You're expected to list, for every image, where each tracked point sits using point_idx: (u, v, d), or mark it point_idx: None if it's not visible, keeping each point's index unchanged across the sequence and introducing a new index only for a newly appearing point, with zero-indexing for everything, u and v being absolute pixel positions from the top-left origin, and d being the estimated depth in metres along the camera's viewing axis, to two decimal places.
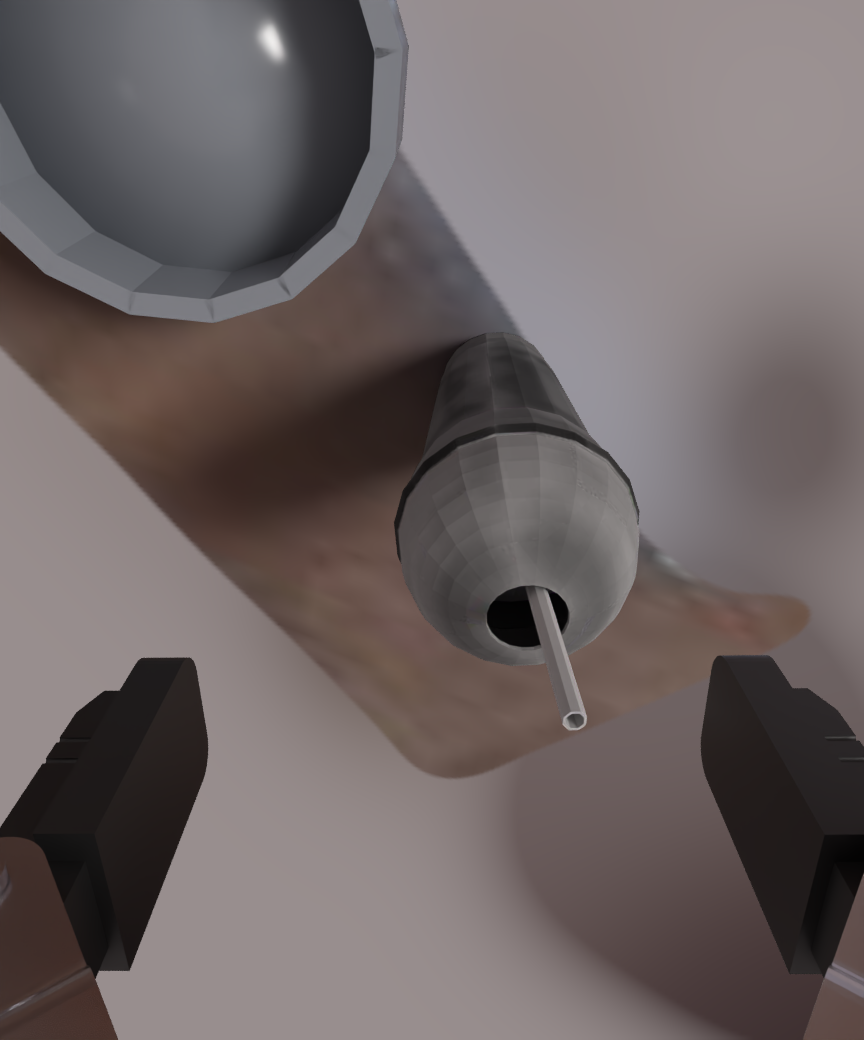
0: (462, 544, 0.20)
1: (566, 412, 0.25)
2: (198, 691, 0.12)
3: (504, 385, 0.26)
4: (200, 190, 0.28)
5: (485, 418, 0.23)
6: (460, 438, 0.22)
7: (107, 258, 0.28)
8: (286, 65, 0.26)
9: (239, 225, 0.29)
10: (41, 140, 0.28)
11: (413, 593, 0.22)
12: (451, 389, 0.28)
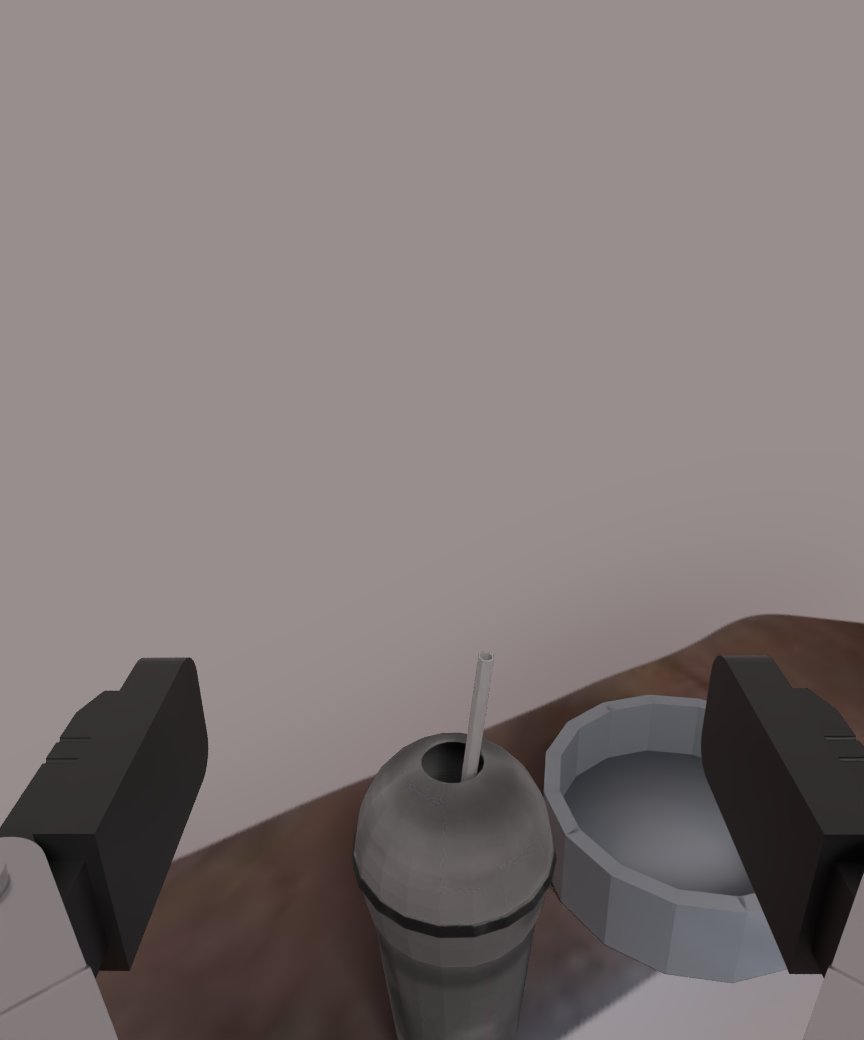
0: None
1: (521, 957, 0.28)
2: (198, 691, 0.12)
3: None
4: (610, 832, 0.42)
5: None
6: None
7: (569, 763, 0.44)
8: (701, 890, 0.39)
9: None
10: (625, 763, 0.47)
11: None
12: None
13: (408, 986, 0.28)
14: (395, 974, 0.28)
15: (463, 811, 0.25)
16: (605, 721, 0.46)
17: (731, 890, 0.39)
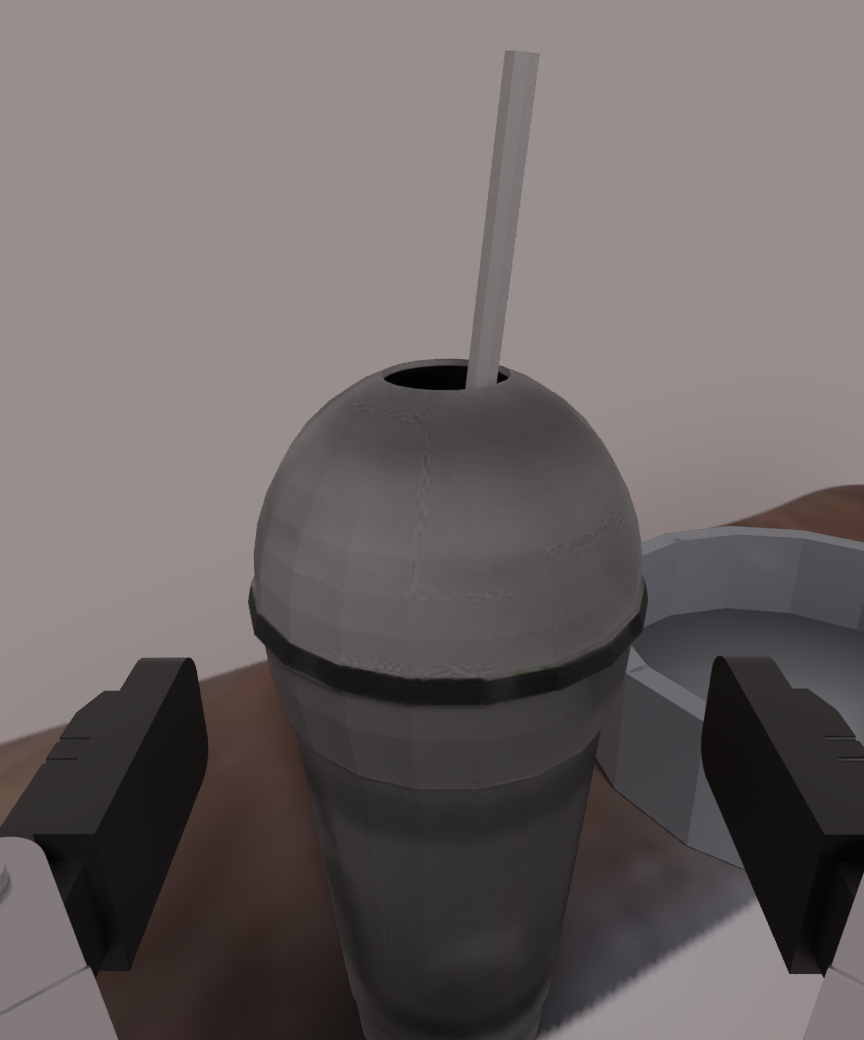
0: None
1: (575, 796, 0.14)
2: (198, 691, 0.12)
3: None
4: None
5: None
6: None
7: None
8: None
9: None
10: (697, 621, 0.33)
11: None
12: None
13: (355, 847, 0.14)
14: (331, 828, 0.15)
15: (466, 434, 0.12)
16: (670, 556, 0.32)
17: None
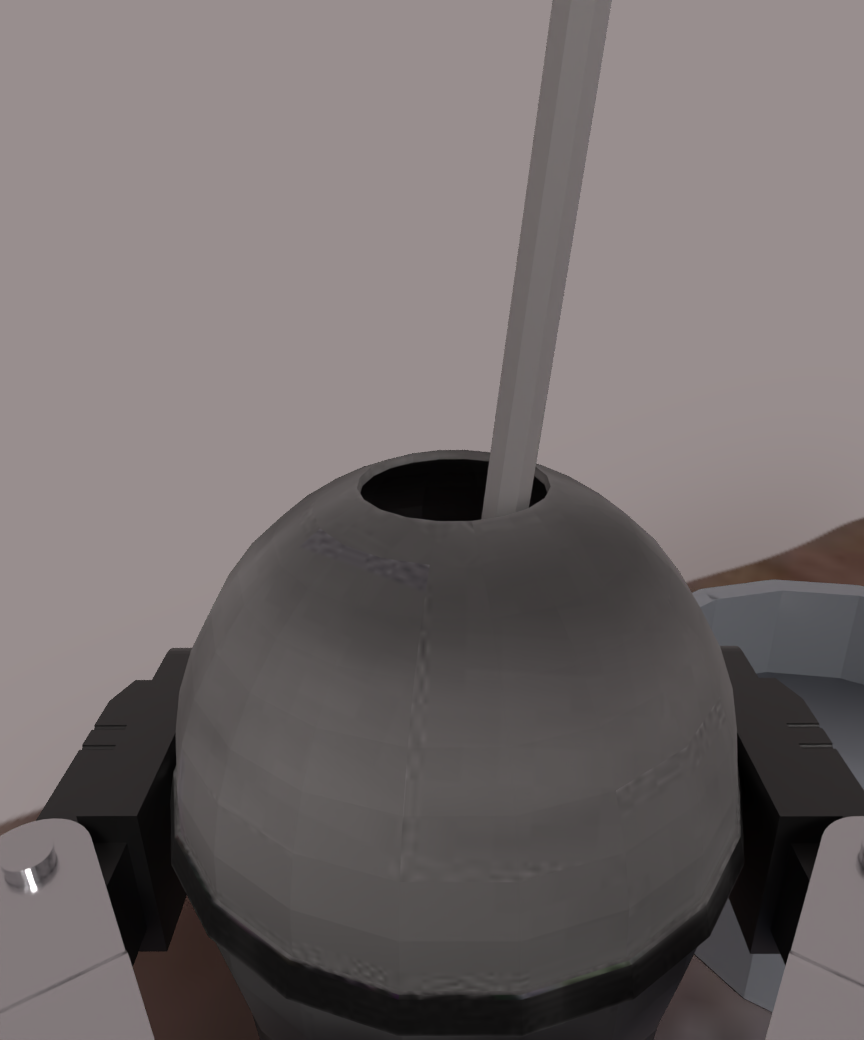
0: None
1: None
2: None
3: None
4: None
5: None
6: None
7: None
8: None
9: None
10: None
11: None
12: None
13: None
14: None
15: (488, 599, 0.07)
16: (706, 617, 0.28)
17: None
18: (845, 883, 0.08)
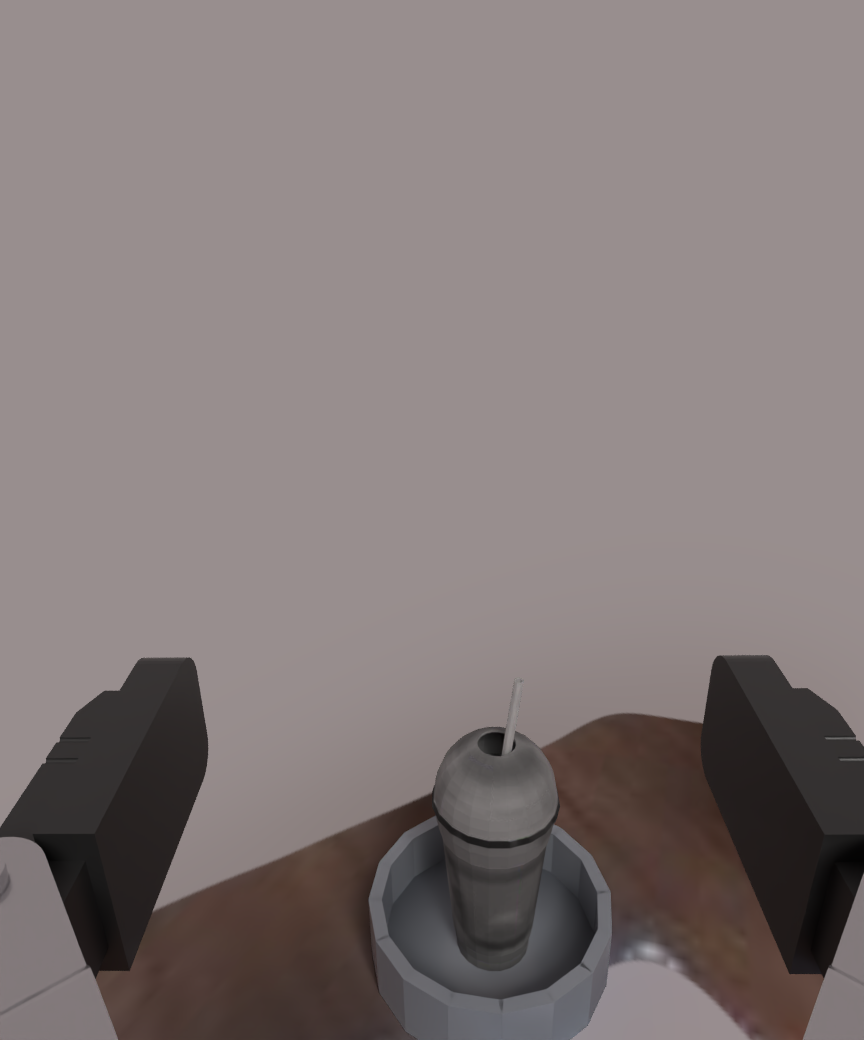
0: (524, 737, 0.45)
1: (537, 868, 0.45)
2: (198, 691, 0.12)
3: None
4: (430, 930, 0.51)
5: None
6: None
7: (404, 868, 0.53)
8: (491, 986, 0.47)
9: (409, 947, 0.50)
10: None
11: None
12: None
13: (466, 884, 0.45)
14: (458, 878, 0.45)
15: (503, 772, 0.42)
16: (439, 830, 0.54)
17: (516, 986, 0.47)
18: None
